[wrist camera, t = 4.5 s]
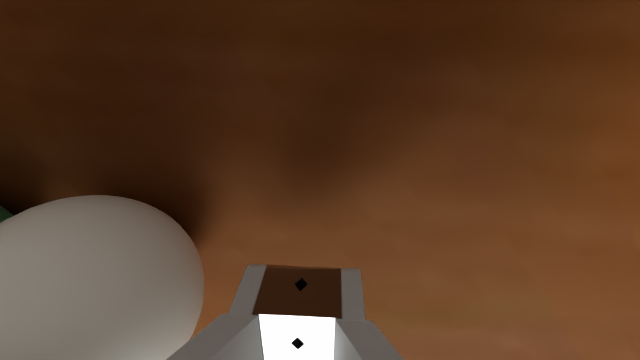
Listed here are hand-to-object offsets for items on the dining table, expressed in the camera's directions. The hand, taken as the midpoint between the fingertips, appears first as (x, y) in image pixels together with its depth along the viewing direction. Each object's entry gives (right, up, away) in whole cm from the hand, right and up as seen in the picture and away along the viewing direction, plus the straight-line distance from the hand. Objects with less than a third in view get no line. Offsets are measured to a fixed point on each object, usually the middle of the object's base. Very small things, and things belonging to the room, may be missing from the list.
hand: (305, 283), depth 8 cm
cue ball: (-6, 0, 0) cm, 6 cm away
